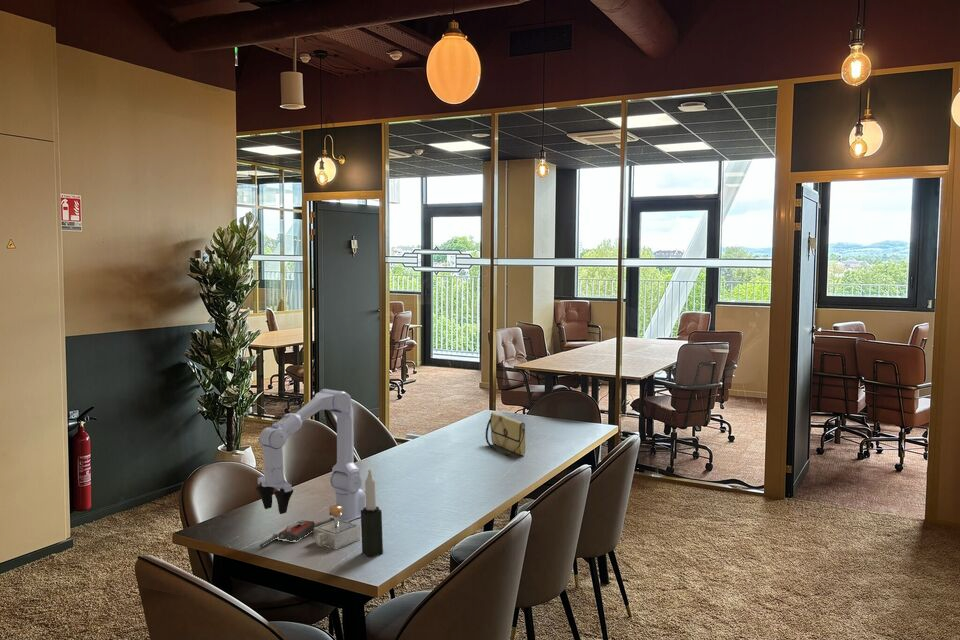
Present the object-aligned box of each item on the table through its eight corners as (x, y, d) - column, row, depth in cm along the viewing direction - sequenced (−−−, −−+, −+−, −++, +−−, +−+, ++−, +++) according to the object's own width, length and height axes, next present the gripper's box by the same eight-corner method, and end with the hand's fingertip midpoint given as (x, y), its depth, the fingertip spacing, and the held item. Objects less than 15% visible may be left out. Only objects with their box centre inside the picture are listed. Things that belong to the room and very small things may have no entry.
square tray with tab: (339, 532, 234) (338, 518, 234) (360, 539, 228) (359, 525, 227) (308, 544, 225) (307, 529, 224) (329, 551, 218) (329, 537, 218)
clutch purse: (481, 445, 343) (481, 413, 342) (494, 443, 346) (494, 411, 345) (514, 459, 317) (514, 425, 316) (528, 457, 320) (527, 423, 319)
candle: (368, 557, 213) (365, 473, 211) (360, 552, 217) (357, 469, 216) (384, 553, 216) (381, 469, 214) (376, 548, 220) (373, 466, 219)
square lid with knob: (338, 522, 232) (337, 500, 232) (354, 527, 227) (354, 505, 227) (318, 529, 226) (317, 507, 226) (334, 535, 221) (334, 512, 221)
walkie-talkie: (295, 527, 241) (257, 550, 222) (294, 514, 241) (256, 536, 222) (318, 529, 238) (282, 553, 219) (318, 516, 238) (281, 538, 219)
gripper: (248, 466, 226) (250, 509, 227) (276, 474, 217) (278, 519, 218) (268, 461, 232) (269, 503, 233) (296, 468, 223) (298, 512, 224)
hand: (275, 510), depth 226 cm, fingers open, 7 cm apart
